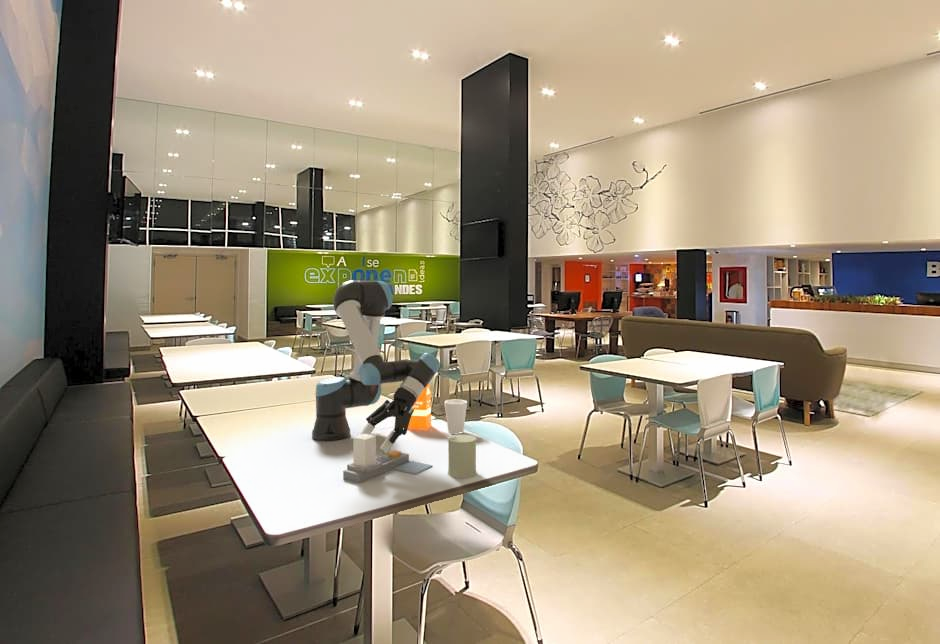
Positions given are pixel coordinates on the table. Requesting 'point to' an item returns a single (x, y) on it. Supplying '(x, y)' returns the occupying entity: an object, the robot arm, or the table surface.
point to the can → (462, 456)
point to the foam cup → (455, 415)
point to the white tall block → (364, 450)
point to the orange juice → (422, 411)
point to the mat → (413, 467)
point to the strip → (375, 467)
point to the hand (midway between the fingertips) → (371, 446)
